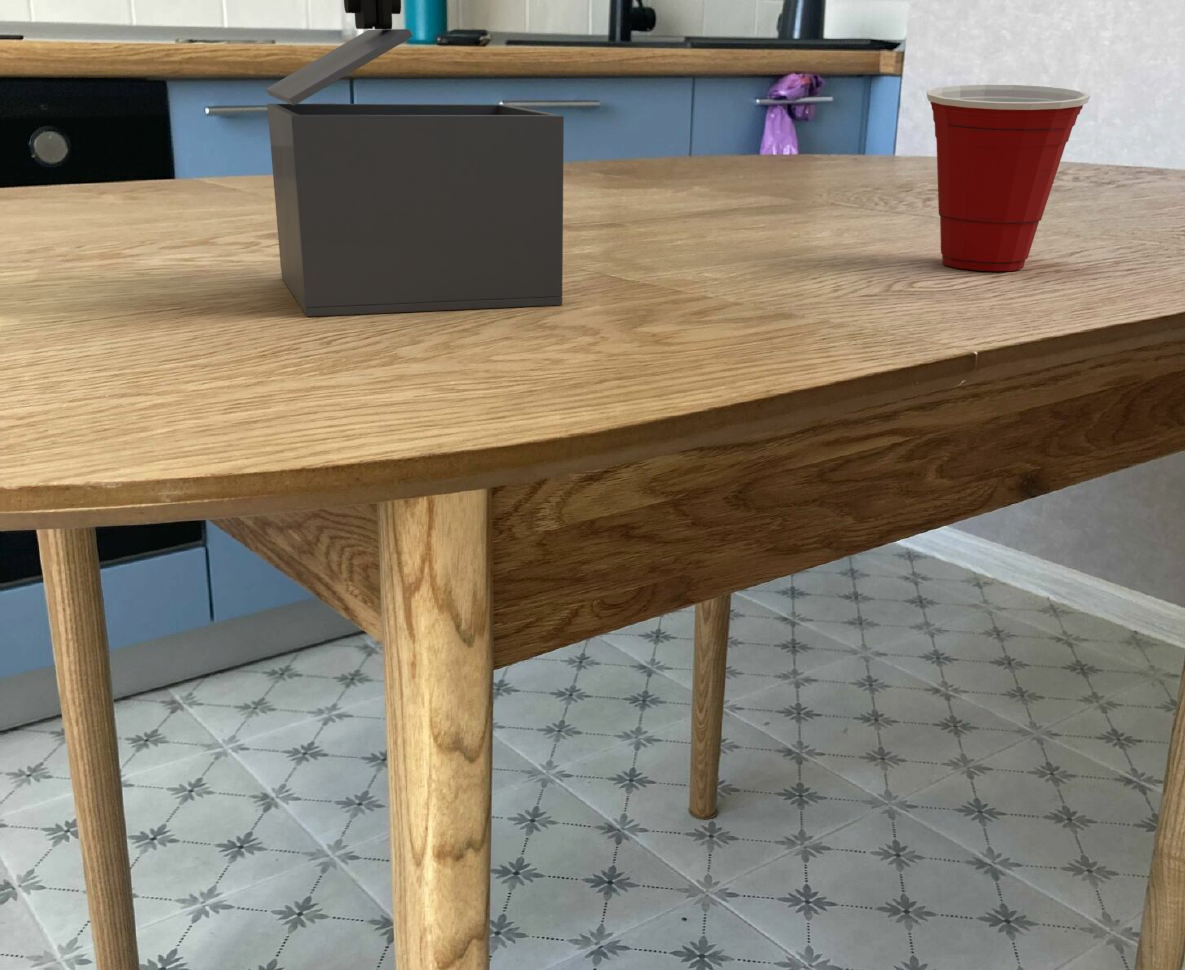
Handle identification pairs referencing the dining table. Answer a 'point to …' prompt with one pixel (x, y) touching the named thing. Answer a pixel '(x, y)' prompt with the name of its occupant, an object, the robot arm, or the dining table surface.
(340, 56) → the flap
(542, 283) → the carton
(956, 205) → the plastic cup
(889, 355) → the dining table surface
